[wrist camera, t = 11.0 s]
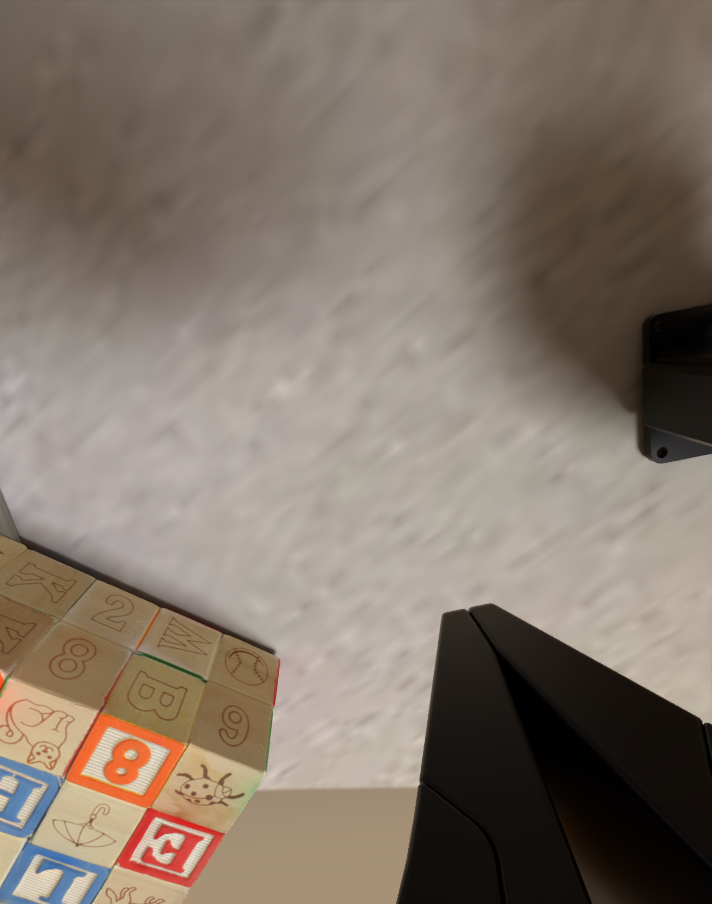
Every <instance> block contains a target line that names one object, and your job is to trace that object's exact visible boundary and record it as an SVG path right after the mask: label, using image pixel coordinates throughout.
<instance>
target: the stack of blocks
mask: <svg viewBox="0 0 712 904" xmlns="http://www.w3.org/2000/svg"><path fill="white" fill-rule="evenodd" d="M279 667H280V659H279V658H278V657H277V656H274V655H272V654H270V653H268V652H266V651H263V650H261V649H259V648H257V647H254V646H252V645H250V644H248V643H245V642H243V641H241V640H239V639H236V638H234V637H231V636H229V635H224V634H222V633H221V632H220V631H217V630H215V629H213V628H210V627H208V626H206V625H203V624H201V623H199V622H196V621H194V620H192V619H189V618H187V617H185V616H182V615H180V614H178V613H175V612H173V611H171V610H168V609H165V608H159V607H158V606H156V605H155V604H153V603H150V602H148V601H146V600H144V599H141V598H139V597H137V596H134V595H132V594H130V593H128V592H125V591H123V590H121V589H119V588H116V587H114V586H112V585H109V584H107V583H105V582H103V581H99V580H96V579H95V578H94V577H92V576H90V575H87V574H85V573H83V572H81V571H79V570H76V569H74V568H72V567H69V566H67V565H65V564H63V563H60V562H58V561H56V560H54V559H52V558H49V557H47V556H45V555H42V554H40V553H38V552H36V551H33V550H28V549H27V547H26V546H25V545H23V544H21V543H18V542H16V541H13V540H11V539H9V538H7V537H4V536H2V535H0V904H182V903H183V901H184V900H185V898H186V897H187V895H188V892H189V889H190V888H191V887H192V886H193V884H194V883H195V881H196V880H197V878H198V876H199V875H200V874H201V872H202V870H203V869H204V867H205V866H206V864H207V862H208V861H209V859H210V858H211V856H212V854H213V853H214V851H215V850H216V848H217V847H218V845H219V843H220V842H221V840H222V839H223V837H224V835H225V833H226V832H228V831H229V829H230V828H231V826H232V825H233V824H234V822H235V820H236V819H237V817H238V816H239V814H240V813H241V812H242V810H243V808H244V807H245V805H246V804H247V802H248V801H249V799H250V798H251V796H252V795H253V793H254V792H255V790H256V789H257V787H258V786H259V784H260V782H261V781H262V779H263V777H264V776H265V773H266V771H267V763H268V754H269V744H270V735H271V727H272V717H273V708H274V706H275V700H276V693H277V685H278V677H279Z"/></svg>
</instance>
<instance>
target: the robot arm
mask: <svg viewBox="0 0 712 904" xmlns="http://www.w3.org/2000/svg"><path fill="white" fill-rule="evenodd" d="M657 321H659V322H660V328H659V330H658V331H656V329H655V324H656V323H657ZM643 363H644V367H643V369H642V385H643V423H644V424H645V453H646V457H647V458H648V459H649V460H651V461H653V462H656V463H667V462H672V461H677V460H682V459H687V458H692V457H697V456H702V455H707V454H712V303H707V304H702V305H697V306H692V307H687V308H681V309H676V310H671V311H666V312H661V313H656V314H652V315H650V316H649V317H648V318H647V319H646V320H645V322H644V324H643ZM660 448H661V449H662V451H661V453H660V454H659V455H657V451H658V450H659V449H660ZM396 904H712V724H710V723H704V724H703V723H702V720H701V719H700V718H699V717H697V716H695V715H693V714H691V713H690V712H688V711H686V710H684V709H682V708H681V707H679V706H677V705H675V704H673V703H672V702H670V701H668V700H666V699H664V698H663V697H661V696H659V695H657V694H655V693H654V692H652V691H650V690H648V689H646V688H645V687H643V686H641V685H639V684H637V683H636V682H634V681H632V680H630V679H628V678H626V677H625V676H623V675H621V674H619V673H617V672H616V671H614V670H612V669H610V668H608V667H607V666H605V665H603V664H601V663H599V662H598V661H596V660H594V659H592V658H590V657H589V656H587V655H585V654H583V653H581V652H580V651H578V650H576V649H574V648H572V647H571V646H569V645H567V644H565V643H563V642H562V641H560V640H558V639H556V638H554V637H553V636H551V635H549V634H547V633H545V632H543V631H542V630H540V629H538V628H536V627H534V626H533V625H531V624H529V623H527V622H525V621H524V620H522V619H520V618H518V617H516V616H515V615H513V614H511V613H509V612H507V611H506V610H504V609H502V608H500V607H498V606H497V605H495V604H492V603H489V604H484V605H479V606H474V607H471V608H469V610H468V611H467V610H466V609H460V610H455V611H450V612H445V613H444V614H443V615H442V618H441V625H440V633H439V640H438V647H437V655H436V662H435V670H434V677H433V684H432V692H431V699H430V706H429V714H428V721H427V728H426V736H425V743H424V751H423V758H422V765H421V773H420V785H419V786H418V792H417V799H416V806H415V814H414V820H413V826H412V831H411V837H410V843H409V848H408V854H407V860H406V864H405V869H404V873H403V877H402V881H401V886H400V890H399V894H398V898H397V902H396Z"/></svg>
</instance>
